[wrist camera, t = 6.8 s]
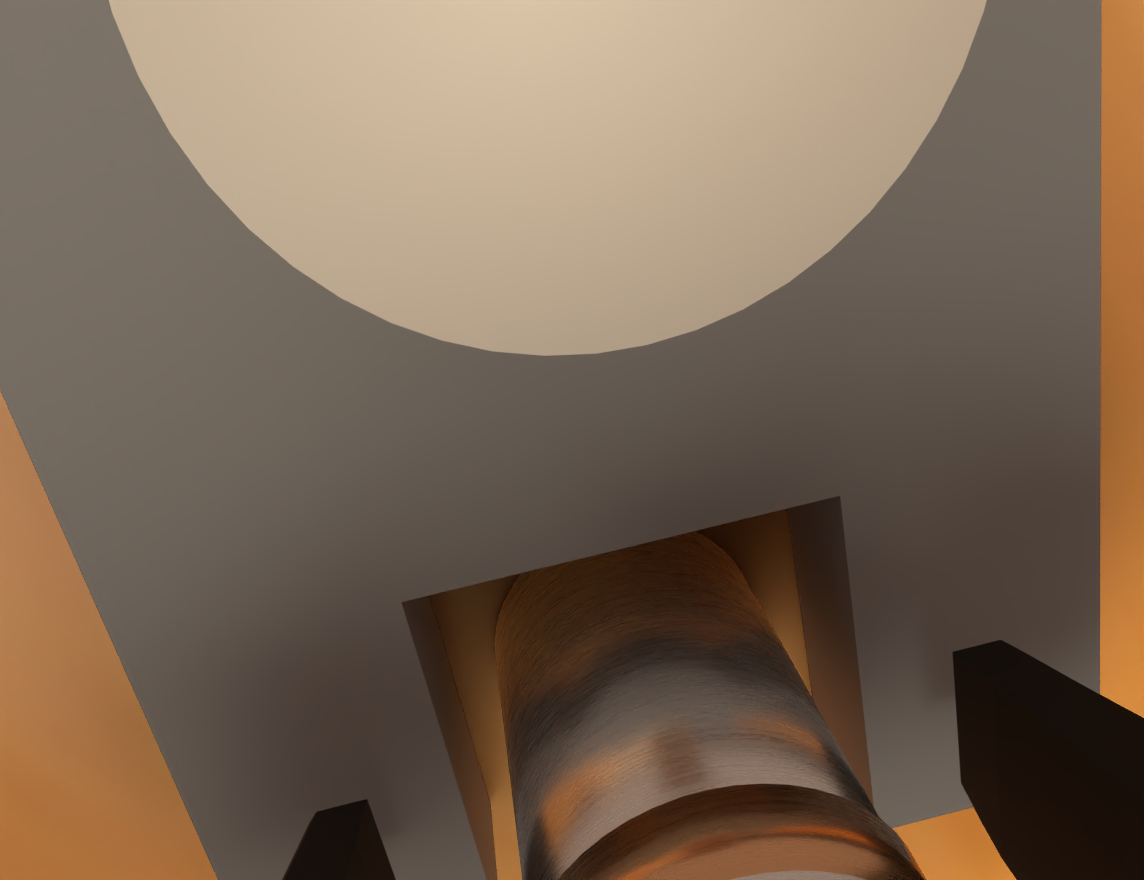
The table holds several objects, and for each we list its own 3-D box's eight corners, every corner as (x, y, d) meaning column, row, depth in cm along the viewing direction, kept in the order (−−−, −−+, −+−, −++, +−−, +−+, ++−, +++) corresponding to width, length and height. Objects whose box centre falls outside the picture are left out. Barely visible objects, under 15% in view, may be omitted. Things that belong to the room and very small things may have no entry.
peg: (673, 781, 17) (824, 1237, 11) (440, 698, 16) (456, 1157, 10) (812, 575, 16) (1069, 952, 10) (570, 469, 15) (685, 819, 9)
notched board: (1010, 673, 18) (1393, 1109, 11) (286, 855, 17) (198, 1440, 10) (962, -576, 11) (1845, -1502, 4) (-200, -346, 11) (-1346, -988, 4)
